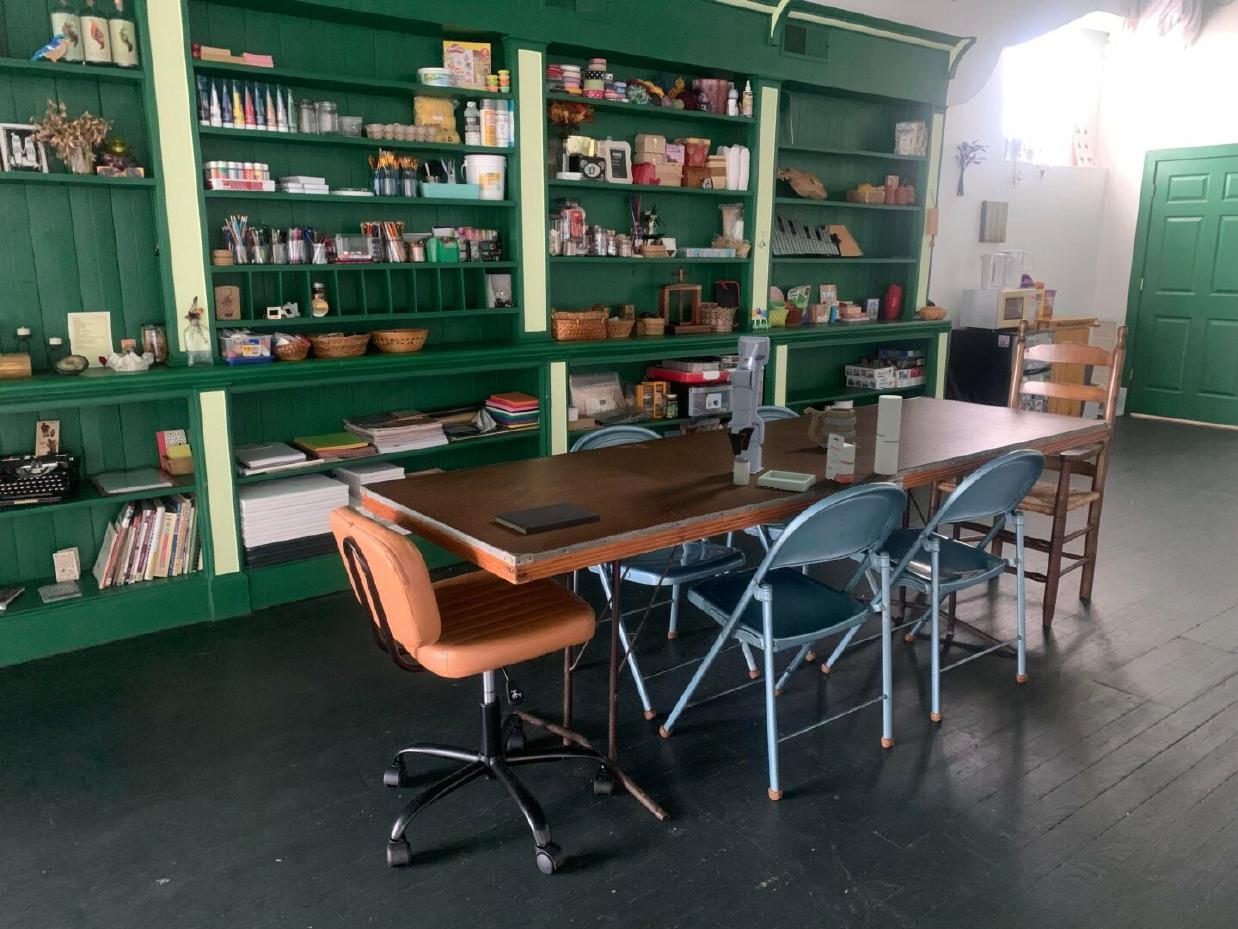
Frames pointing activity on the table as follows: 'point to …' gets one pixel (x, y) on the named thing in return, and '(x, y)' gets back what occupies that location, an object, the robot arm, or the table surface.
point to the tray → (787, 480)
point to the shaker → (741, 470)
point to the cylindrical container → (888, 434)
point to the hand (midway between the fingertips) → (740, 452)
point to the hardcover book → (547, 518)
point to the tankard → (833, 425)
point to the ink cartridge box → (840, 460)
